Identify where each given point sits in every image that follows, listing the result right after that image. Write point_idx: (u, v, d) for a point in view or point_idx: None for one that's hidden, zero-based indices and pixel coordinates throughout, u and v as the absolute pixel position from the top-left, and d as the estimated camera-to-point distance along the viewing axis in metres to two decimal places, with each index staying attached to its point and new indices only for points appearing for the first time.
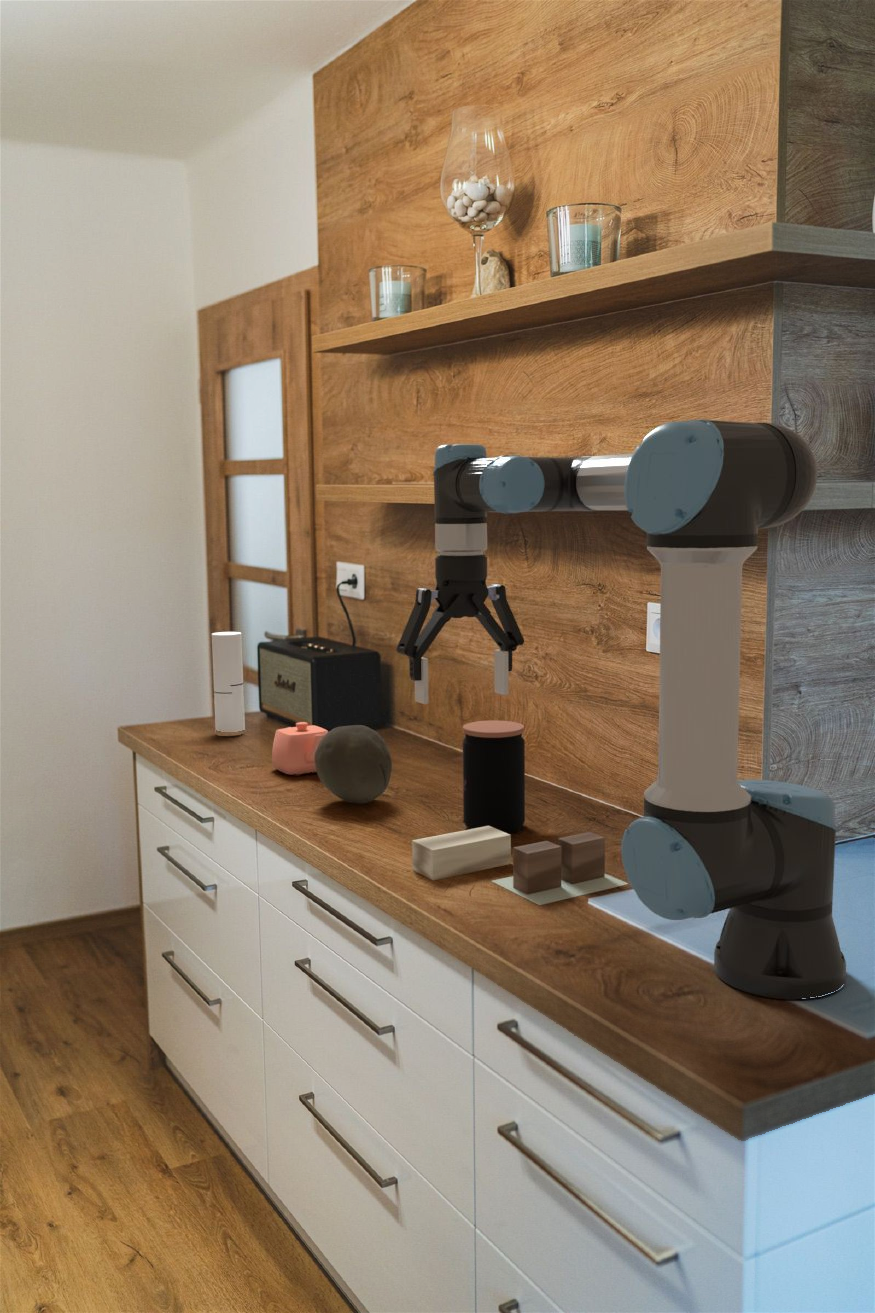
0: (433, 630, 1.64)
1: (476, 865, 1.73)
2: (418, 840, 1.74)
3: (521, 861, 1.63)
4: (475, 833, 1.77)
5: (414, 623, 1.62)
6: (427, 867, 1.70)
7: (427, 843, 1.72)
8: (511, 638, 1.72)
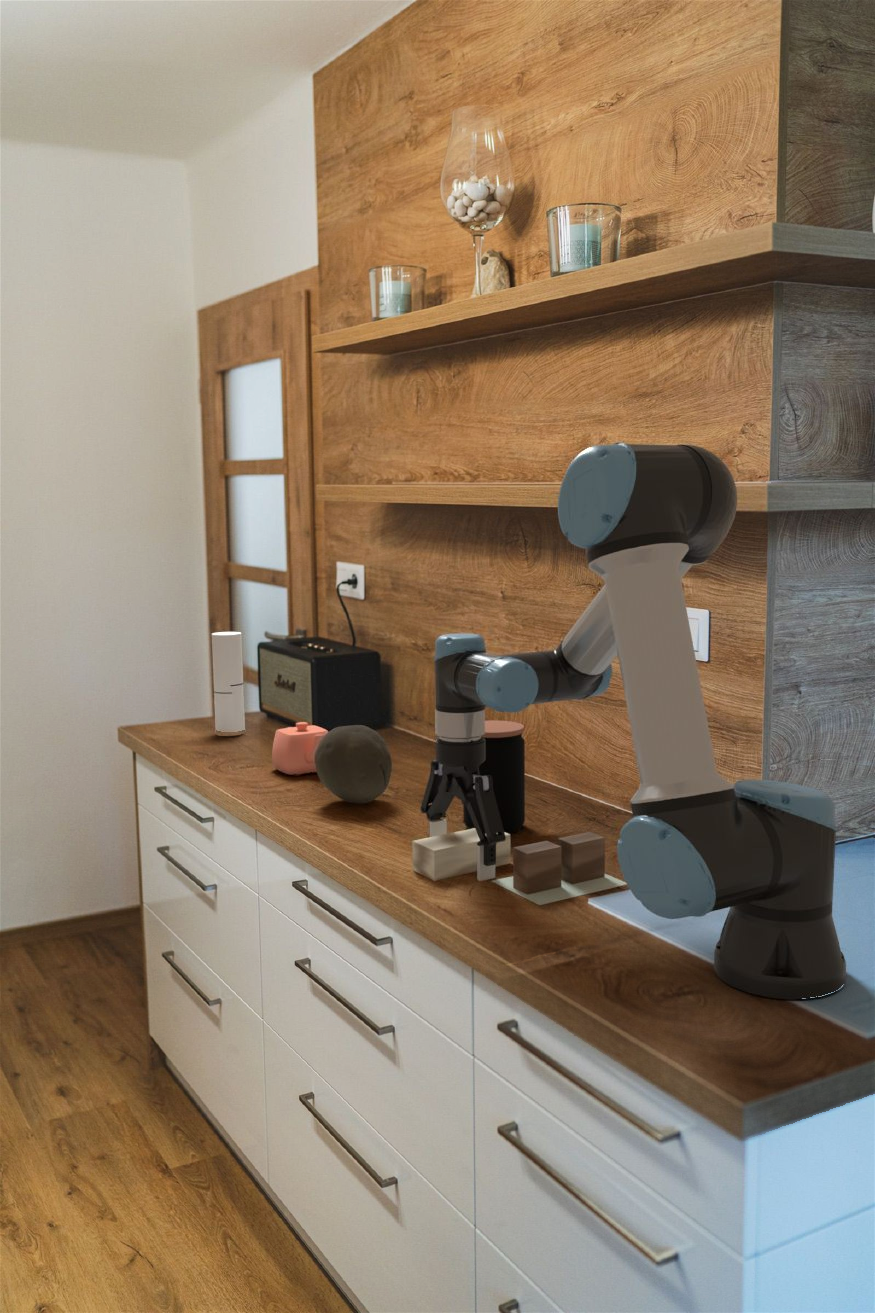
0: (436, 799, 1.78)
1: (476, 865, 1.73)
2: (418, 840, 1.73)
3: (521, 861, 1.63)
4: (474, 833, 1.77)
5: (427, 788, 1.80)
6: (428, 868, 1.70)
7: (428, 844, 1.72)
8: None
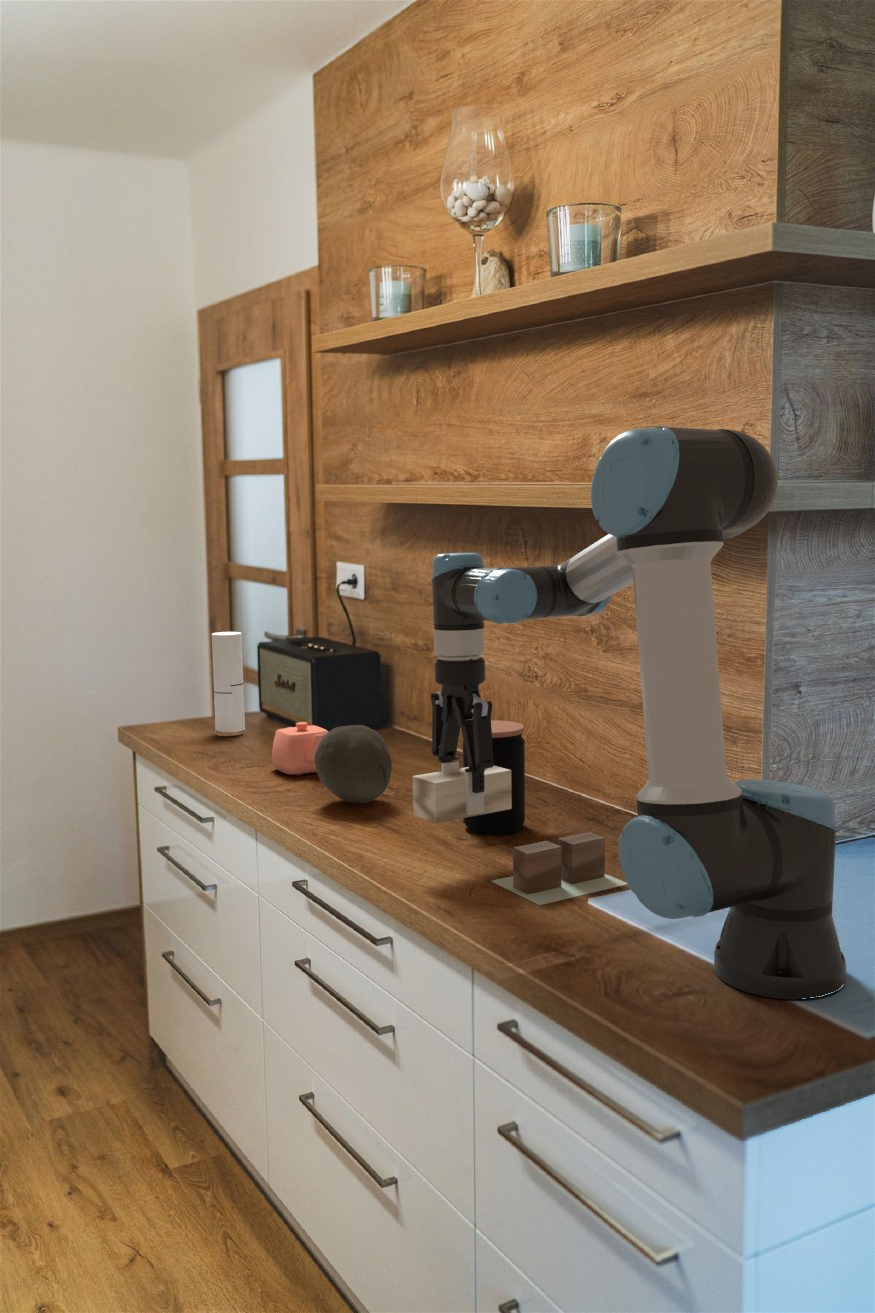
0: (442, 733, 1.75)
1: None
2: (419, 775, 1.72)
3: (521, 861, 1.63)
4: None
5: (433, 726, 1.77)
6: (429, 801, 1.68)
7: (429, 778, 1.70)
8: None
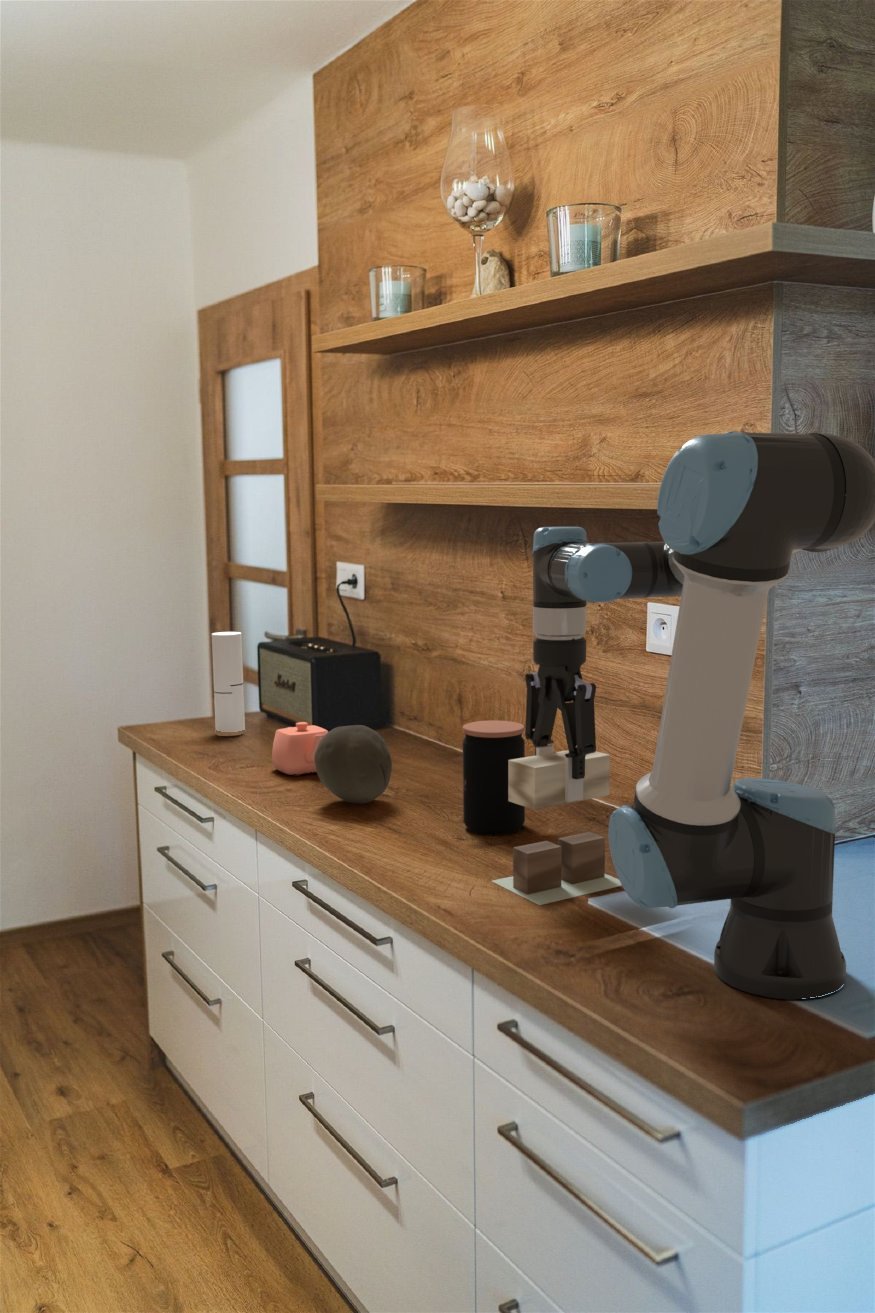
0: (538, 716, 1.67)
1: None
2: (515, 760, 1.64)
3: (521, 861, 1.63)
4: None
5: (527, 708, 1.69)
6: (528, 787, 1.60)
7: (526, 762, 1.62)
8: None
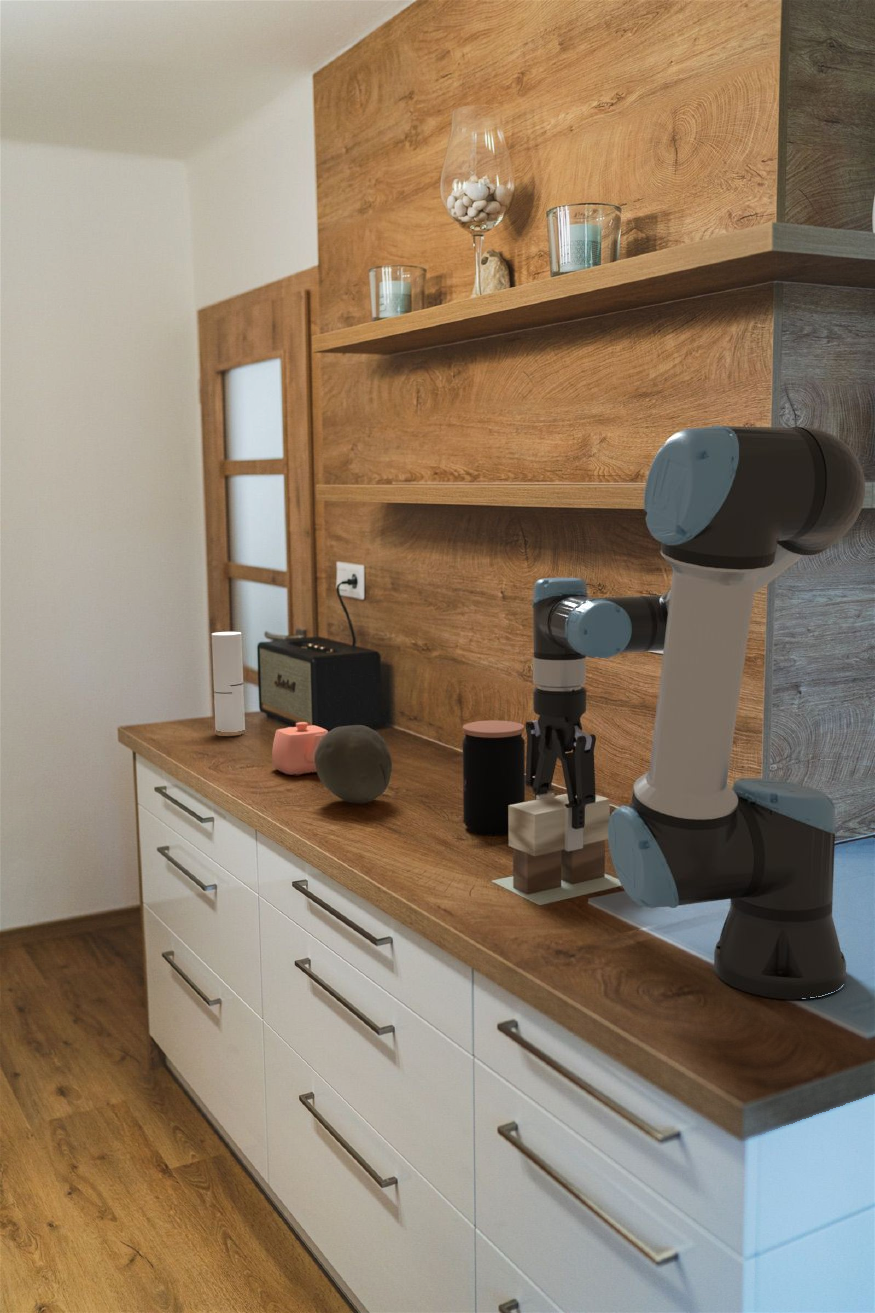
0: (538, 765, 1.68)
1: None
2: (515, 805, 1.65)
3: (521, 861, 1.63)
4: None
5: (527, 756, 1.70)
6: (528, 833, 1.61)
7: (526, 808, 1.63)
8: None
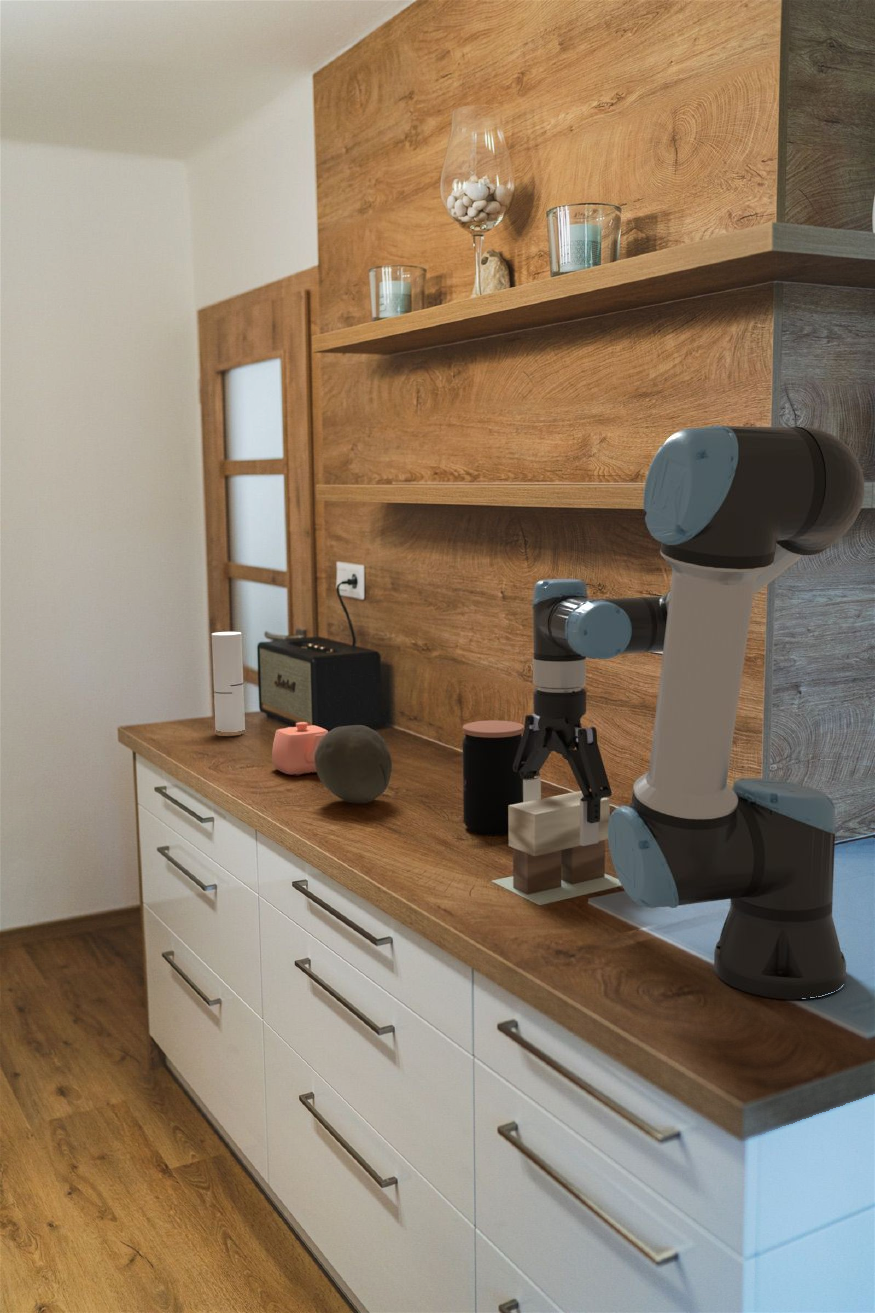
0: (531, 756, 1.69)
1: (576, 830, 1.64)
2: (515, 805, 1.65)
3: (521, 861, 1.63)
4: (571, 797, 1.68)
5: (520, 744, 1.71)
6: (528, 833, 1.61)
7: (526, 808, 1.63)
8: None
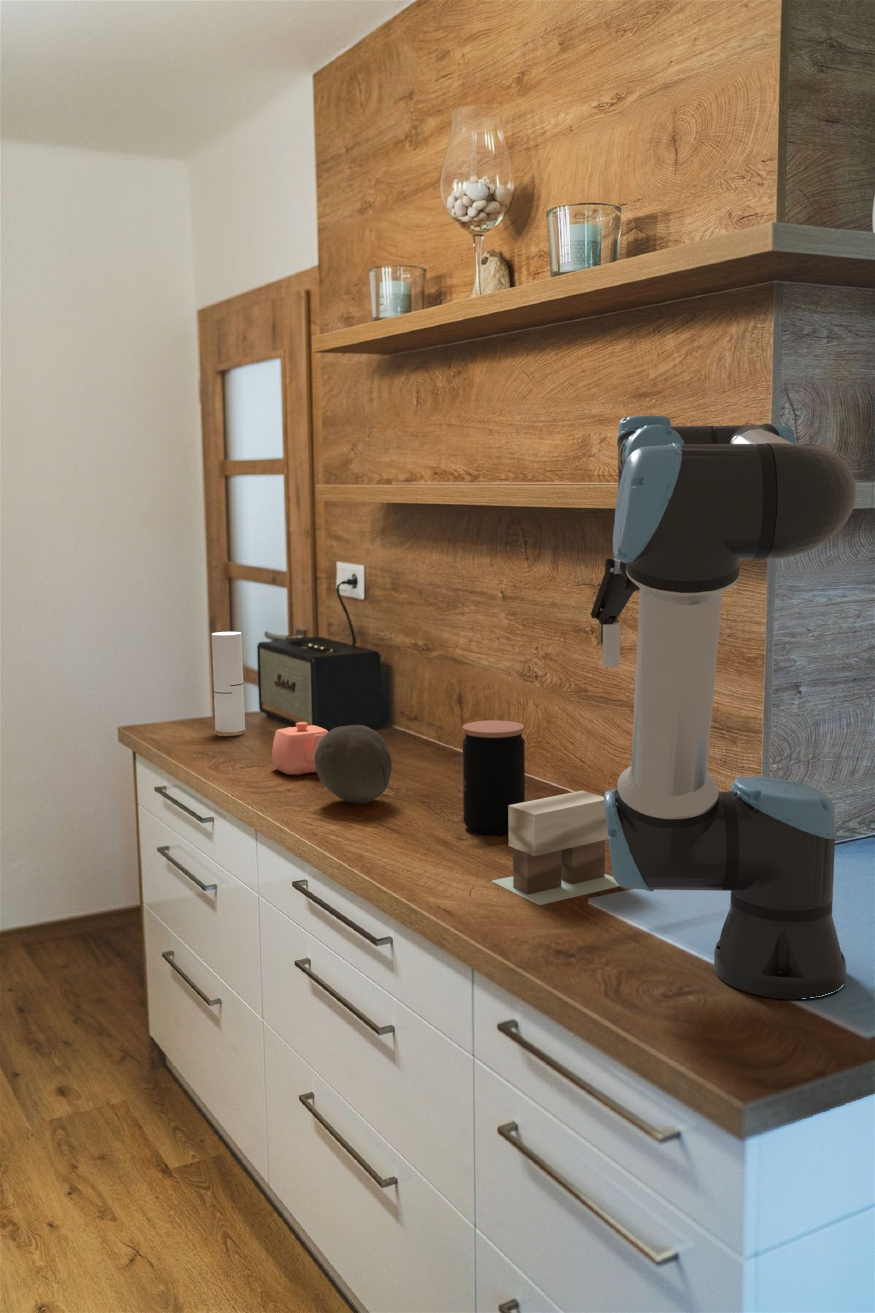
0: (611, 599, 1.70)
1: (576, 830, 1.64)
2: (515, 805, 1.65)
3: (521, 861, 1.63)
4: (571, 797, 1.68)
5: (599, 590, 1.72)
6: (528, 833, 1.61)
7: (526, 808, 1.63)
8: None
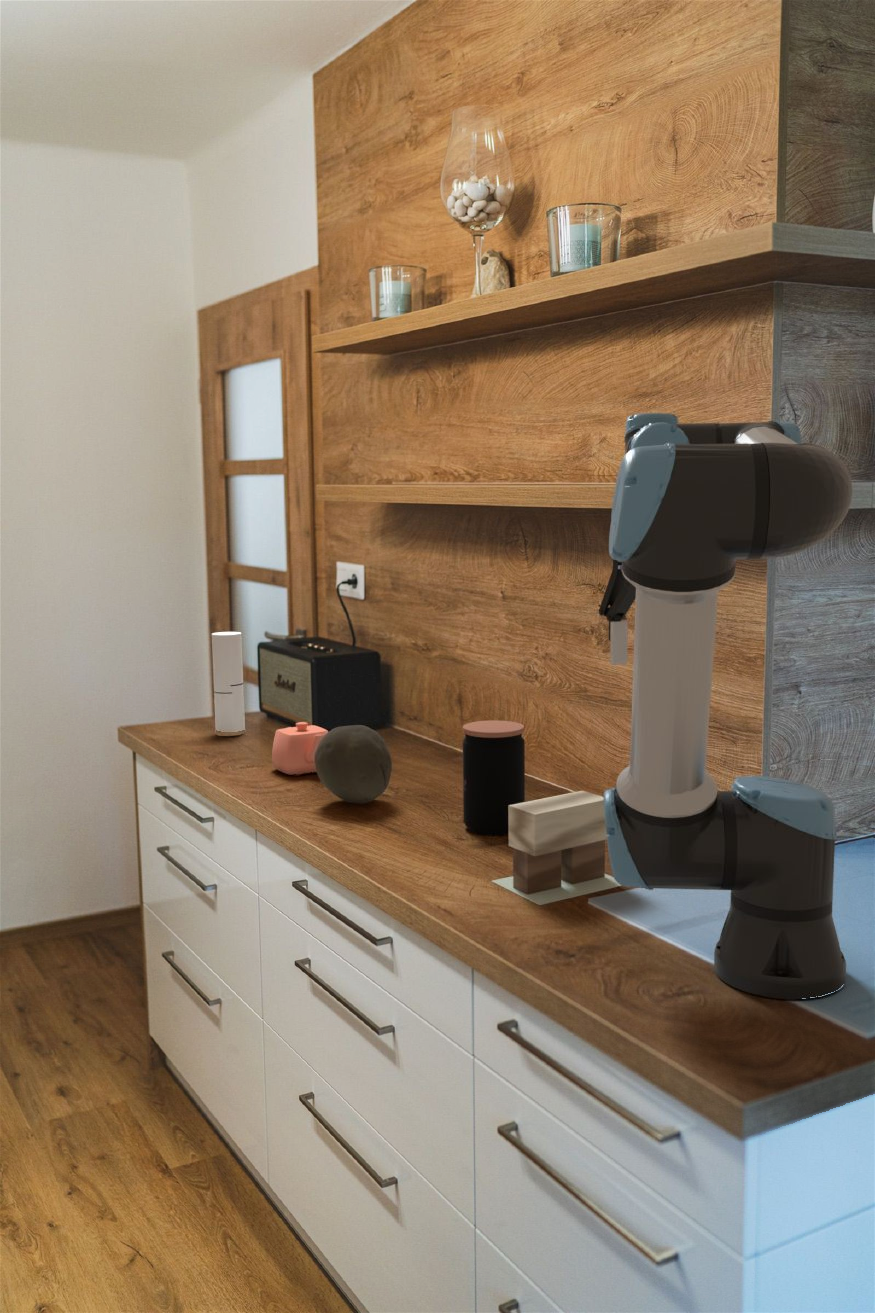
0: (619, 596, 1.70)
1: (576, 830, 1.64)
2: (515, 805, 1.65)
3: (521, 861, 1.63)
4: (571, 797, 1.68)
5: (607, 587, 1.73)
6: (528, 833, 1.61)
7: (526, 808, 1.63)
8: None
